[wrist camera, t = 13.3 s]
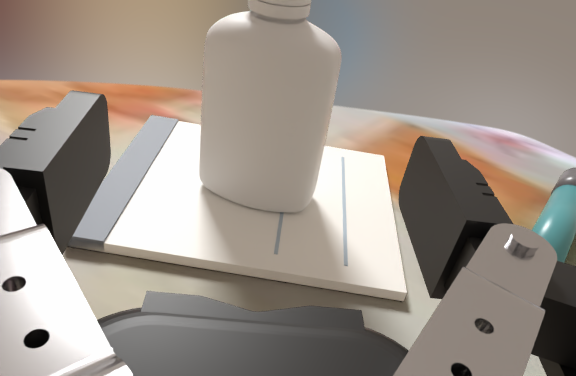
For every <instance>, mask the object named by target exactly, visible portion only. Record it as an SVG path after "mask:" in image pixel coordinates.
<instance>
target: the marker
mask: <svg viewBox="0 0 576 376" xmlns="http://www.w3.org/2000/svg"><path fill="white" fill-rule="evenodd" d="M532 231H533V232H535V233H537V234H538V235H540V236H541V237H543V238H544V239H545V240H546V241H548V242H549V243H550V244H551V246H552V247H553V248H554V250H555V252H556V254H557V261H560V262H563V263H564V262H565V259H566V257H567V254H568V252H569V249H570V247H571V244H572V242H573V239H574V237H575V234H576V168H571V169H568V170H566V171H565V172H563V173H562V175H561V176H560V178H559V180H558V182H557V183H556V185H555V187H554V189H553V191H552V193H551V196H550V198H549V200H548V202H547V204H546V206H545V207H544V209H543V211H542V213H541V215H540V216H539V218H538V220H537V222H536V224H535V225H534V227H533V229H532Z"/></svg>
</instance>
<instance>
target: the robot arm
mask: <svg viewBox="0 0 576 376" xmlns="http://www.w3.org/2000/svg"><path fill="white" fill-rule="evenodd" d="M110 155H111V149H110V135H109V122H108V109H107V101H106V98H105V96H104V95H103V94H96V93H88V92H80V91H70V92H69V93H68V94H67V95H66V96H65V98H64V99H63V100H62V101H61V102H60V103H59V104H58V105H57V107H56V108H50V107H47V108H44V109H42V110H40V111H38V112H36V113H34V114H32V115H30V116H28V117H27V118H26V119H25V120H24V122H23V123H22V124H21V125H20V126H19V127H18V129H16V130H15V131H14V132H13V133H12V134H11V135H10V138H9V139H8V138H7V139H6V140H5V141H4V142H3V143H2V144H1V145H0V376H523V374H524V371H525V369H526V366H527V363H528V360H529V357H530V354H533V355H535V356H538V357H539V359H540V361H541V364H542V366H543V368H544V370H545V372H546V375H547V376H576V267H575V266H572V265H569V264H566V263H563V262H560V261H557V254H556V252H555V250H554V248H553V247H552V246H551V244H550V243H549V242H548V241H546V240H545V239H544V238H543V237H541V236H540V235H538V234H537V233H535V232H533V231H531V230H529V229H527V228H524V227H522V226H518V225H514V224H513V223H512V221H511V219H510V218H509V216H508V215H507V213H506V212H505V210H504V208H503V207H502V205H501V204H500V202H499V201H498V199H497V197H494V193H493V191H492V189H491V188H490V187H489V186H488V183H487V182H486V180H485V178H484V177H483V175H482V174H481V172H480V171H479V170H478V169H476V168H475V167H474V166H473V165H471V164H470V163H469V162H468V161H467V160H462V159H461V157H460V156H459V154H458V152H457V151H456V149H455V147H454V146H453V144H452V142H451V141H450V140H448V139H441V138H433V137H425V136H420V137H419V138H418V139H417V141H416V143H415V145H414V148H413V151H412V154H411V157H410V160H409V162H408V165H407V168H406V171H405V174H404V177H403V180H402V183H401V186H400V190H399V207H400V210H401V213H402V216H403V219H404V222H405V225H406V228H407V231H408V234H409V237H410V240H411V243H412V245H413V248H414V251H415V254H416V257H417V260H418V263H419V266H420V269H421V272H422V275H423V278H424V281H425V284H426V287H427V290H428V293H429V295H430V298H437V299H442V300H441V302H440V303H439V305H438V307H437V308H436V310H435V311H434V313H433V314H432V316H431V317H430V319H429V321H428V322H427V324H426V325H425V327H424V328H423V330H422V331H421V333H420V335H419V336H418V338H417V339H416V341H415V342H414V344H413V345H412V347H411V349H410V350H409V351H408V350H407V349H406V348H405V347H403V346H402V345H400V344H399V343H397V342H396V341H394V340H392V339H390V338H389V337H387V336H385V335H383V334H381V333H378V332H376V331H374V330H371V329H368V328H365V327H364V322H363V317H362V311H361V310H352V309H341V308H330V307H319V306H304V307H296V308H288V309H280V310H271V311H263V312H254V311H250V310H246V309H243V308H240V307H236V306H233V305H230V304H226V303H223V302H220V301H217V300H213V299H210V298H207V297H203V296H197V295H186V294H175V293H164V292H153V291H147V292H146V295H145V299H144V302H143V305H142V308H135V309H130V310H126V311H121V312H118V313H115V314H111V315H108V316H105V317H103V318H101V319H98V320H96V318H95V316H94V315H93V313H92V311H91V309H90V307H89V305H88V303H87V302H86V300H85V298H84V296H83V294H82V292H81V290H80V288H79V287H78V285H77V283H76V281H75V279H74V277H73V275H72V273H71V272H70V270H69V268H68V266H67V264H66V262H65V260H64V259H63V257H62V255H63V253H64V251H65V249H66V247H67V245H68V244H69V242H70V240H71V238H72V236H73V234H74V233H75V231H76V229H77V227H78V225H79V223H80V222H81V220H82V218H83V216H84V214H85V212H86V211H87V209H88V207H89V205H90V203H91V201H92V199H93V198H94V196H95V194H96V192H97V190H98V188H99V187H100V185H101V183H102V181H103V179H104V177H105V176H106V174H107V171H108V168H109V164H110Z"/></svg>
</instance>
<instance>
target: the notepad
mask: <svg viewBox="0 0 576 376" xmlns="http://www.w3.org/2000/svg"><path fill="white" fill-rule="evenodd" d="M200 135H201V125H198V124H192V123H186V122H180V121H178V119H172V118H166V117H160V116H154V115H151V116H150V118H149V119H148V120H147V122H146V123H145V124H144V126H143V127H142V128H141V130H140V131H139V133H138V134H137V135H136V137H135V138H134V139H133V141H132V142H131V143H130V145H129V146H128V148H127V149H126V150H125V152H124V153H123V154H122V156H121V157H120V159H119V160H118V161H117V163H116V164H115V165H114V167H113V168H112V169H111V171H110V172H109V174H108V175H107V176H106V178H105V179H104V180H103V182H102V183H101V185H100V187H99V188H98V190H97V192H96V194H95V196H94V198H93V199H92V201H91V203H90V205H89V207H88V209H87V211H86V212H85V214H84V216H83V218H82V220H81V222H80V223H79V225H78V227H77V229H76V231H75V233H74V234H73V236H72V238H71V240H70V242H69V244H68V245H67V246H70V247H76V248H82V249H88V250H94V251H100V252H106V253H113V254H119V255H125V256H131V257H137V258H143V259H149V260H155V261H161V262H167V263H173V264H179V265H186V266H192V267H198V268H204V269H210V270H216V271H222V272H228V273H234V274H240V275H246V276H252V277H259V278H265V279H271V280H277V281H283V282H289V283H295V284H301V285H307V286H313V287H319V288H325V289H332V290H338V291H344V292H350V293H356V294H362V295H368V296H374V297H380V298H386V299H392V300H398V301H404V299H405V296H406V294H407V290H406V285H405V279H404V273H403V267H402V261H401V255H400V249H399V243H398V237H397V231H396V225H395V219H394V214H393V208H392V202H391V196H390V190H389V184H388V178H387V172H386V166H385V160H384V156H381V155H376V154H370V153H364V152H358V151H352V150H346V149H340V148H334V147H328V146H324V151H323V156H322V160H321V165H320V170H319V175H318V180H317V184H316V188H315V191H314V194H313V196H312V199H311V201H310V203H309V205H308V206H307V207H306V208H305V209H304V210H302V211H299V212H290V213H289V212H273V211H266V210H260V209H255V208H251V207H247V206H243V205H240V204H237V203H235V202H232V201H230V200H228V199H225V198H223V197H221V196H219V195H217V194H216V193H214V192H212V191H211V190H209V189H208V188H206V187H205V186H204V185H203V183H202V182H201V180H200V177H199V163H200Z"/></svg>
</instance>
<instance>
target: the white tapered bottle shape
mask: <svg viewBox="0 0 576 376" xmlns="http://www.w3.org/2000/svg"><path fill="white" fill-rule="evenodd" d="M310 6H311V0H248V7H249V9H250V11H248V12H240V13H235V14H231V15H228V16H226V17H224V18H222V19H220V20H219V21H217V22H216V23H215V24H214V25H213V26H212V27H211V28H210V30H209V31H208V33H207V36H206V40H205V47H204V63H203V85H202V108H201V135H200V163H199V177H200V180H201V182H202V183H203V185H204V186H205V187H206V188H208V189H209V190H211V191H212V192H214V193H216V194H217V195H219V196H221V197H223V198H225V199H228V200H230V201H232V202H235V203H237V204H240V205H243V206H247V207H251V208H255V209H260V210H266V211H273V212H289V213H290V212H299V211H302V210H304V209H305V208H306V207H307V206H308V205H309V203H310V201H311V199H312V196H313V194H314V191H315V188H316V184H317V180H318V175H319V170H320V165H321V160H322V156H323V151H324V146H325V141H326V136H327V131H328V127H329V122H330V117H331V112H332V107H333V102H334V97H335V92H336V87H337V81H338V76H339V71H340V66H341V51H340V48H339V46H338V44H337V43H336V42H335V40H334V39H333V38H332V37H331V36H329V35H328V34H327V33H326V32H324V31H323V30H321V29H320V28H318V27H316V26H315V25H313V24H311V23H310V22H308V21H307V20H306V17H308V16H309V12H310Z"/></svg>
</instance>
